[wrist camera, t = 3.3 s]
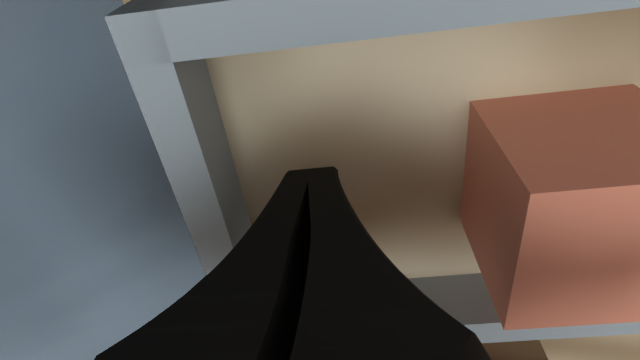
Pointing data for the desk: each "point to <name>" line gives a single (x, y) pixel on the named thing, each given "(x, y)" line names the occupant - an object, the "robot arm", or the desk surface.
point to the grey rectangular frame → (276, 34)
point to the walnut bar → (516, 350)
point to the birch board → (412, 125)
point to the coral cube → (556, 205)
